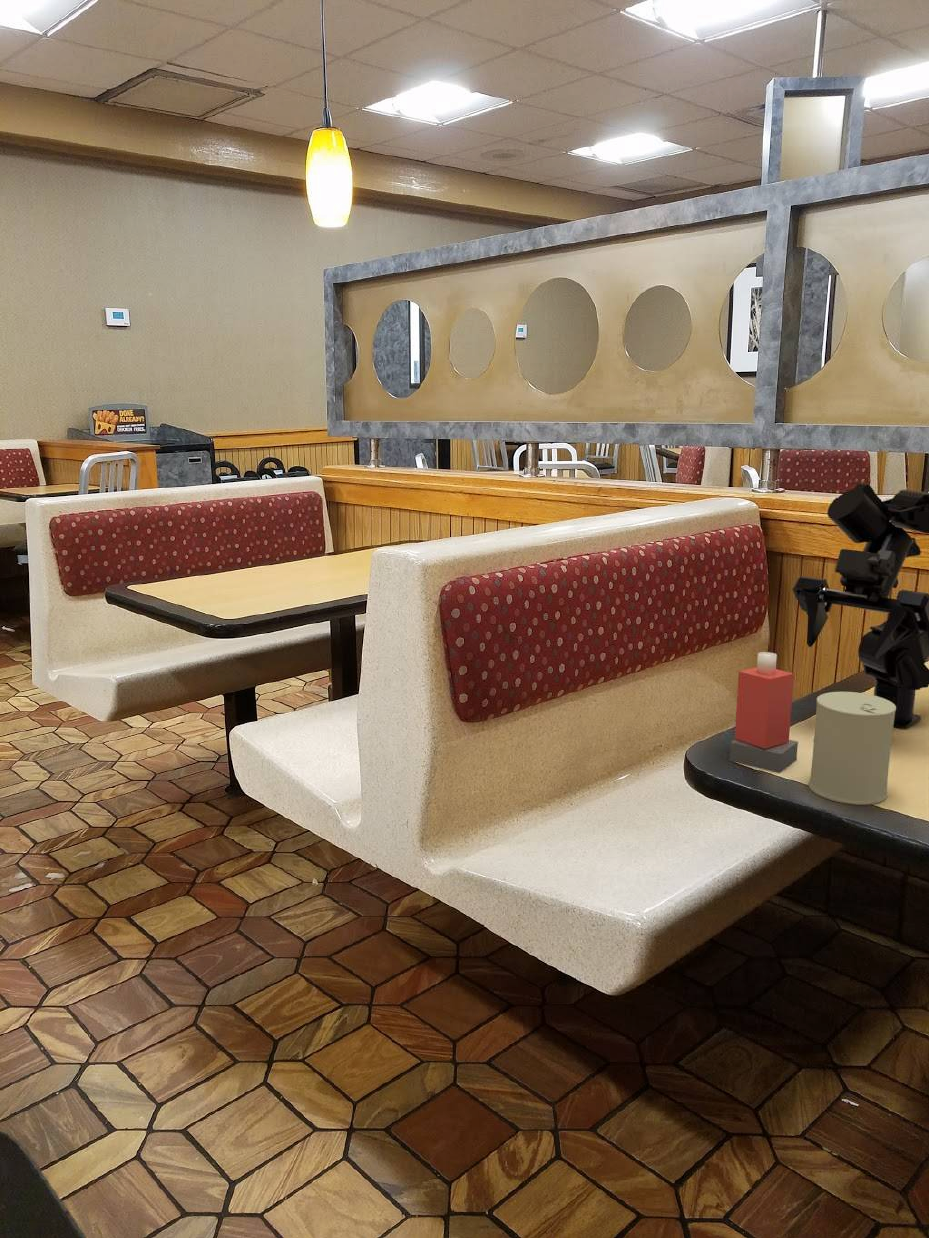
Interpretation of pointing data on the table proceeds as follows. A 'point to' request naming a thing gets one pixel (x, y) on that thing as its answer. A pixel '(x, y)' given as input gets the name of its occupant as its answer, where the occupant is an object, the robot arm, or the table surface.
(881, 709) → the can
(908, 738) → the table surface
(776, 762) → the grey box
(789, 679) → the ketchup bottle
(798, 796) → the table surface
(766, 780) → the table surface
